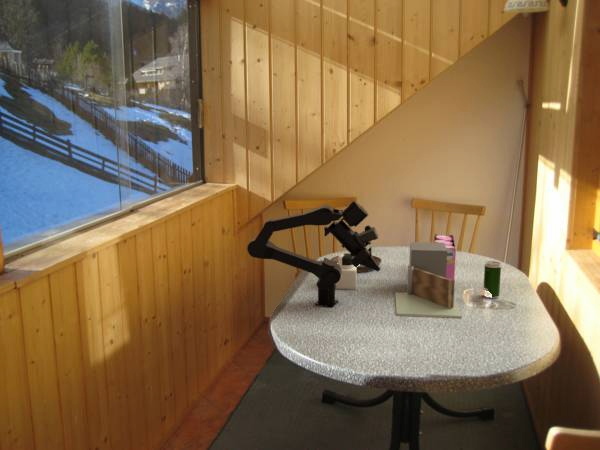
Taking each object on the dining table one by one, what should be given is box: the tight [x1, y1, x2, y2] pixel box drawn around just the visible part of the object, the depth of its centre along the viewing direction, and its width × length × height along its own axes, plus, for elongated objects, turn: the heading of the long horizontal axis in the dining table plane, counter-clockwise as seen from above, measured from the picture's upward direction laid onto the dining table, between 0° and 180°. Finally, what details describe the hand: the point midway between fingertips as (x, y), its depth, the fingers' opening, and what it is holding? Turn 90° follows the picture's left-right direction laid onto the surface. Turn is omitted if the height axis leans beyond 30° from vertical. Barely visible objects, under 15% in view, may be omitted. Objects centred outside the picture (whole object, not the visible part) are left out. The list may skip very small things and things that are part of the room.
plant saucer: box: [330, 255, 382, 273], centre depth 257 cm, size 21×21×3 cm
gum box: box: [433, 233, 457, 281], centre depth 245 cm, size 24×8×14 cm, turn 169°
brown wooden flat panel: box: [413, 268, 455, 308], centre depth 211 cm, size 18×1×9 cm, turn 32°
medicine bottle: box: [335, 252, 358, 290], centre depth 230 cm, size 7×7×12 cm
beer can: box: [482, 260, 502, 300], centre depth 218 cm, size 5×5×12 cm
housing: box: [395, 241, 463, 319], centre depth 214 cm, size 34×20×16 cm, turn 172°
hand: (379, 270), depth 208 cm, fingers closed
